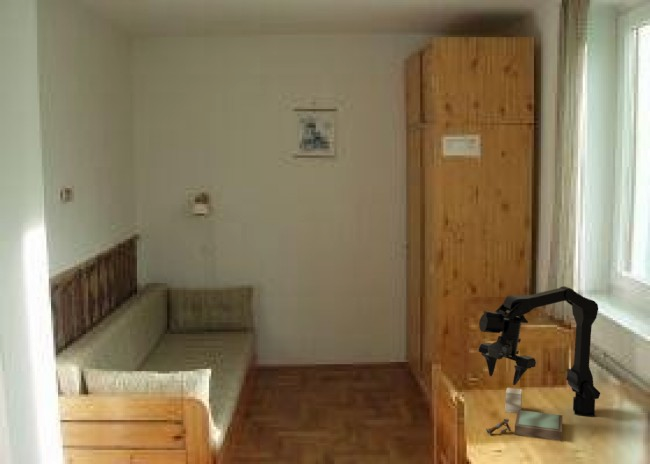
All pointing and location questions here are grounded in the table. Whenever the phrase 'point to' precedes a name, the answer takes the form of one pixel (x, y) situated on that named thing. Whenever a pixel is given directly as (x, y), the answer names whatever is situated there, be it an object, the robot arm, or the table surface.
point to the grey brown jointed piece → (499, 427)
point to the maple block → (513, 400)
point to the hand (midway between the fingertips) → (502, 380)
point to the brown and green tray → (539, 425)
